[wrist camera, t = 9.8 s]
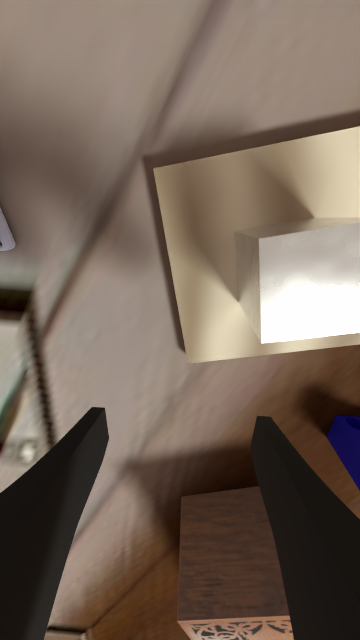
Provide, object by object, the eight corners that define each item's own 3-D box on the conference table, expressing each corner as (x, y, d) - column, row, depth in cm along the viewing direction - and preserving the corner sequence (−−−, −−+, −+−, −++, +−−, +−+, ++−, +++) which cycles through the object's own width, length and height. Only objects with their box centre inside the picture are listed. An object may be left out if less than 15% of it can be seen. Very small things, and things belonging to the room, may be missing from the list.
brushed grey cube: (238, 302, 17) (261, 343, 12) (234, 230, 15) (258, 238, 10) (310, 293, 17) (369, 330, 11) (314, 217, 15) (389, 217, 9)
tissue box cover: (181, 494, 29) (177, 621, 20) (301, 477, 27) (358, 612, 18) (225, 587, 39) (236, 701, 30) (316, 580, 36) (358, 702, 27)
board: (188, 355, 20) (187, 363, 19) (155, 172, 15) (153, 168, 14) (357, 336, 19) (367, 343, 18) (390, 124, 14) (408, 116, 12)
